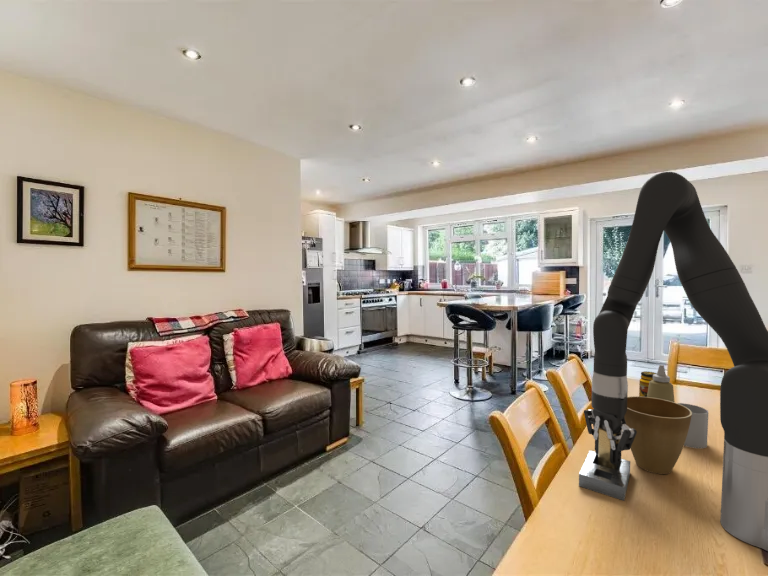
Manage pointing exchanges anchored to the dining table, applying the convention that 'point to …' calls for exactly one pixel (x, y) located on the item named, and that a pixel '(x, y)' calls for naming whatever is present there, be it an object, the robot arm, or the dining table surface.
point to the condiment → (645, 383)
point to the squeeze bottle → (661, 386)
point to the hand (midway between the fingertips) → (607, 458)
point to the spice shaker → (605, 449)
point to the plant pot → (657, 432)
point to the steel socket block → (605, 477)
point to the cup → (697, 427)
